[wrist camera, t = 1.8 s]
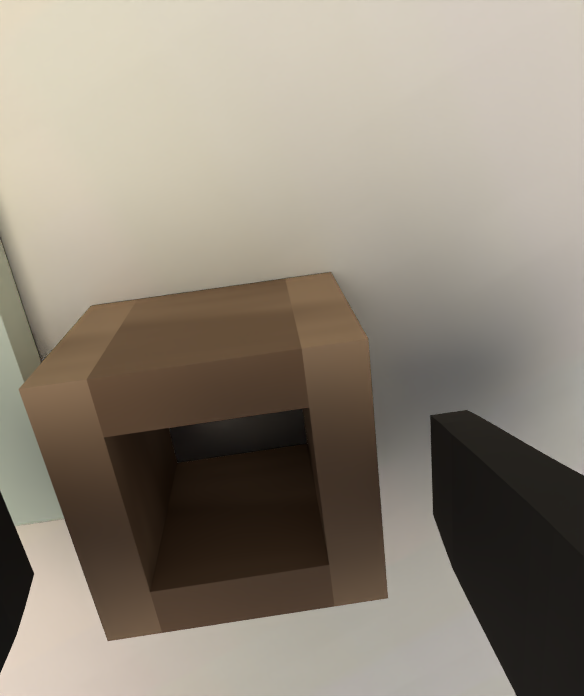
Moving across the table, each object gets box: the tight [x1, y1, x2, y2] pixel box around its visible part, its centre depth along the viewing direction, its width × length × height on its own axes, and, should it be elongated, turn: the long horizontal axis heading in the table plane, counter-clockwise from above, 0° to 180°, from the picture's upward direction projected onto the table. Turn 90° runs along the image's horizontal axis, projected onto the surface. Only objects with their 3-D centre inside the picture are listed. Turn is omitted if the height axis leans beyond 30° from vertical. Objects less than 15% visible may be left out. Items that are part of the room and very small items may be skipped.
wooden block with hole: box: [19, 272, 388, 641], centre depth 11 cm, size 5×5×4 cm
